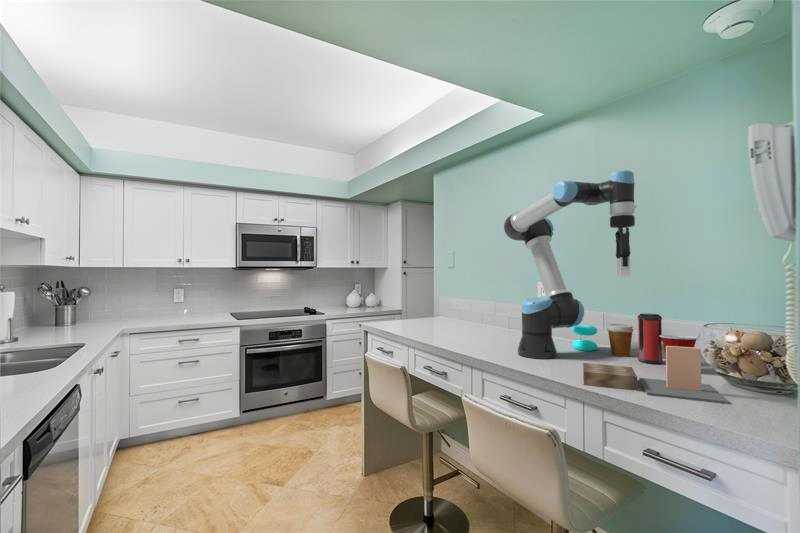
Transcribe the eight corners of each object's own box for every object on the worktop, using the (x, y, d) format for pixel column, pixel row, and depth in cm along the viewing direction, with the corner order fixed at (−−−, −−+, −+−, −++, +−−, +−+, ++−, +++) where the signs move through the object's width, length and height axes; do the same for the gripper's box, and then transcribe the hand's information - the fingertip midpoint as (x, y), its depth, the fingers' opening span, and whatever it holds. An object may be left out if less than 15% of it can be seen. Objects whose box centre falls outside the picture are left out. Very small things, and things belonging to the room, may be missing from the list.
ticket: (667, 387, 110) (666, 346, 110) (666, 386, 111) (665, 345, 111) (701, 391, 107) (700, 348, 107) (700, 389, 108) (699, 347, 108)
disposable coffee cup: (626, 352, 159) (626, 324, 159) (638, 357, 150) (638, 327, 150) (603, 352, 160) (602, 323, 160) (613, 357, 150) (613, 327, 151)
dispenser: (583, 384, 116) (583, 370, 116) (583, 374, 126) (583, 361, 126) (637, 390, 110) (637, 375, 110) (632, 379, 120) (631, 366, 120)
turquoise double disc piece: (590, 324, 172) (601, 328, 162) (590, 346, 172) (602, 351, 162) (568, 324, 172) (578, 328, 162) (568, 346, 172) (578, 351, 162)
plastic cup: (689, 366, 135) (688, 333, 136) (704, 375, 125) (704, 338, 125) (654, 365, 138) (654, 332, 138) (666, 372, 128) (666, 337, 128)
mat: (647, 394, 106) (647, 392, 106) (639, 379, 120) (639, 377, 120) (729, 404, 98) (729, 401, 98) (709, 386, 113) (709, 384, 113)
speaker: (633, 359, 146) (632, 313, 146) (652, 359, 147) (651, 312, 147) (647, 364, 139) (647, 315, 139) (667, 364, 139) (667, 315, 139)
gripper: (639, 210, 120) (640, 276, 120) (630, 219, 143) (630, 275, 143) (612, 211, 123) (613, 276, 123) (607, 220, 146) (608, 275, 146)
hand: (622, 276), depth 133 cm, fingers open, 13 cm apart
